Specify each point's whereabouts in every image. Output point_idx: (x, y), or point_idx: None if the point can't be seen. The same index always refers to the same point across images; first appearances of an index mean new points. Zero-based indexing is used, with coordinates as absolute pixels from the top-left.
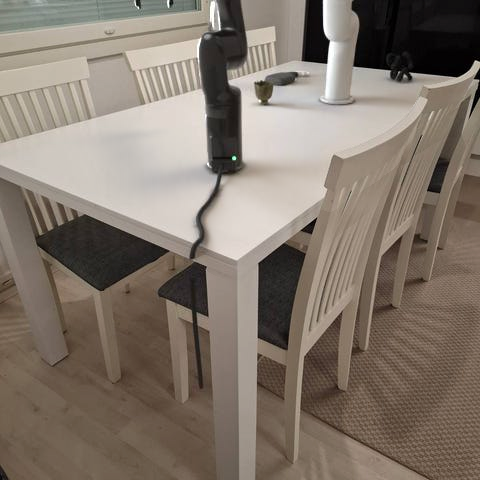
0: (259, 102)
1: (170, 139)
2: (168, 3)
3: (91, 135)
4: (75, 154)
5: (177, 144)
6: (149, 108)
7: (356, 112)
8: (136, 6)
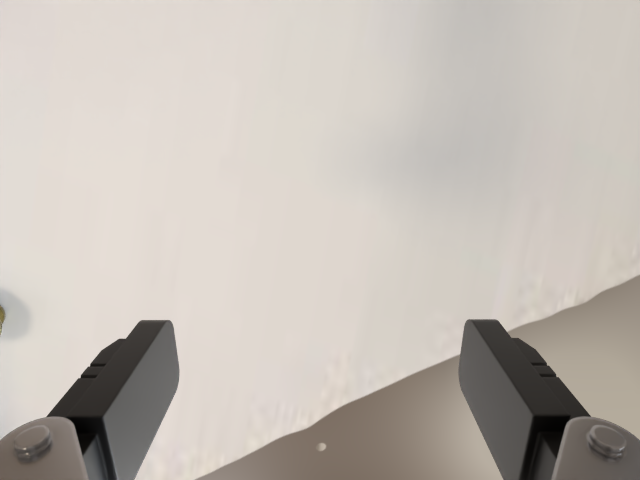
0: (3, 312)
1: (325, 81)
2: (160, 358)
3: (529, 203)
4: (607, 50)
5: (313, 24)
6: (331, 381)
7: None
8: (520, 342)
